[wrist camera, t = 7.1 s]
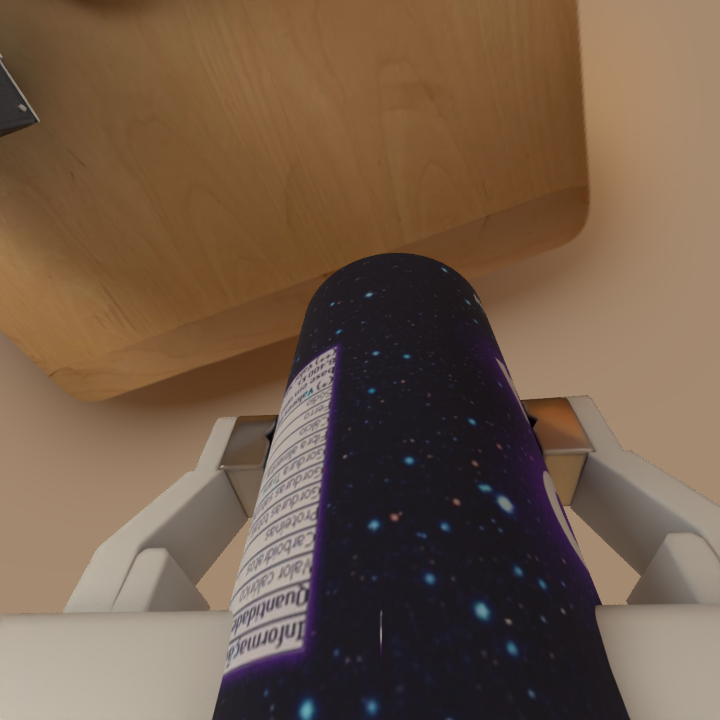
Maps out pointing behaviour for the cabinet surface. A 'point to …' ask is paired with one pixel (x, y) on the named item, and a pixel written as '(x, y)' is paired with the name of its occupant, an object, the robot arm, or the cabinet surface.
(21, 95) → the camera
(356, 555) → the beverage can
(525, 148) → the cabinet surface
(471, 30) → the cabinet surface
